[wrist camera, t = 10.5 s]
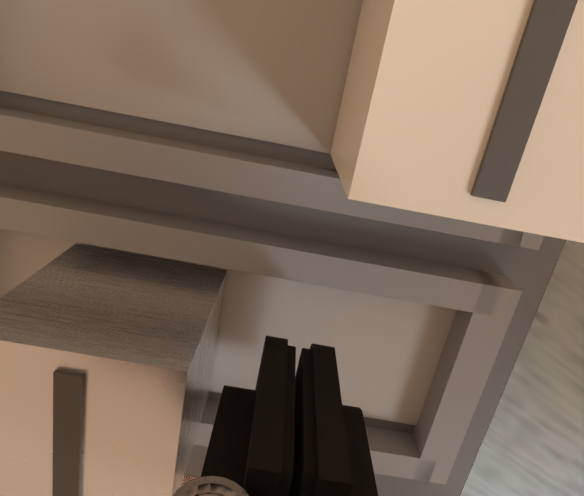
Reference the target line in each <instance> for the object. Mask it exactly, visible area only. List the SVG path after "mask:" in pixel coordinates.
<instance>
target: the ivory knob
mask: <svg viewBox="0 0 584 496" xmlns="http://www.w3.org/2000/svg"><path fill="white" fill-rule="evenodd" d="M330 155H331V157H332V160H333V162H334V165H335V167H336V170H337V172H338V175H339V177H340V180H341V182H342V185H343V187H344V190H345V192H346V195H347V197H348V199H351V200H357V201H362V202H367V203H373V204H378V205H383V206H389V207H394V208H399V209H405V210H410V211H415V212H421V213H426V214H431V215H437V216H442V217H447V218H453V219H458V220H464V221H469V222H474V223H480V224H485V225H490V226H496V227H501V228H506V229H512V230H517V231H522V232H528V233H533V234H538V235H544V236H549V237H554V238H560V239H565V240H570V241H576V242H581V243H584V0H363V2H362V7H361V11H360V16H359V21H358V26H357V30H356V35H355V40H354V44H353V49H352V54H351V58H350V63H349V68H348V73H347V77H346V82H345V87H344V91H343V96H342V101H341V106H340V110H339V115H338V120H337V124H336V129H335V134H334V138H333V143H332V148H331V153H330Z"/></svg>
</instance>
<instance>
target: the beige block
mask: <svg viewBox="0 0 584 496" xmlns="http://www.w3.org/2000/svg"><path fill="white" fill-rule="evenodd" d="M226 275H227V270H221V269H216V268H210V267H204V266H199V265H193V264H188V263H182V262H176V261H171V260H165V259H159V258H154V257H148V256H143V255H137V254H131V253H126V252H120V251H114V250H109V249H103V248H98V247H92V246H86V245H81V244H75V245H73V246H72V247H70V248H69V249H68V250H66V251H65V252H63V253H62V254H61V255H59V256H58V257H56V258H55V259H54V260H52V261H51V262H49V263H48V264H47V265H45V266H44V267H43V268H41V269H40V270H38V271H37V272H36V273H34V274H33V275H31V276H30V277H29V278H27V279H26V280H24V281H23V282H22V283H20V284H19V285H17V286H16V287H15V288H13V289H12V290H10V291H9V292H8V293H6V294H5V295H3V296H2V297H1V298H0V496H173V494H174V493H175V492H176V490H177V489H178V488H180V487H181V486H182V482H183V479H184V476H185V472H186V469H187V465H188V462H189V459H190V455H191V452H192V449H193V445H194V442H195V439H196V435H197V432H198V428H199V425H200V422H201V418H202V415H203V412H204V408H205V405H206V401H207V398H208V395H209V389H210V383H211V376H212V369H213V362H214V356H215V349H216V342H217V336H218V329H219V322H220V315H221V309H222V302H223V295H224V288H225V282H226Z"/></svg>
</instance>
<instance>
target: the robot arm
mask: <svg viewBox="0 0 584 496" xmlns="http://www.w3.org/2000/svg"><path fill="white" fill-rule="evenodd" d="M295 370H296V347H295V346H289V345H288V339H284V338H278V337H273V336H267V335H266V337H265V342H264V347H263V352H262V357H261V363H260V368H259V373H258V378H257V383H256V389H255V390H251V389H245V388H239V387H233V386H227V385H224V387H223V390H222V394H221V398H220V402H219V406H218V410H217V414H216V418H215V422H214V426H213V430H212V434H211V437H210V441H209V445H208V449H207V453H206V457H205V461H204V465H203V469H202V473H201V477H198V478H196V479H193V480H191V481H188V482H186V483H185V484H184V485H182V486H181V487H180V488H178V489H177V490H176V492H175V493H174V494H173V496H378V491H377V486H376V481H375V475H374V470H373V465H372V459H371V454H370V449H369V443H368V438H367V433H366V427H365V422H364V417H363V413H362V410H361V409H360V408H359V407H353V406H347V405H342V400H341V392H340V384H339V376H338V368H337V361H336V353H335V348H334V347H331V346H325V345H319V344H313V343H312V344H311V347H310V349H307V348H302V350H301V354H300V358H299V363H298V367H297V372H296V376H295Z"/></svg>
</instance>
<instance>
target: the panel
mask: <svg viewBox="0 0 584 496" xmlns="http://www.w3.org/2000/svg"><path fill="white" fill-rule="evenodd" d="M362 2H363V0H0V298H1V297H2V296H3V295H5V294H6V293H8V292H9V291H10V290H12V289H13V288H15V287H16V286H17V285H19V284H20V283H22V282H23V281H24V280H26V279H27V278H29V277H30V276H31V275H33V274H34V273H36V272H37V271H38V270H40V269H41V268H43V267H44V266H45V265H47V264H48V263H49V262H51V261H52V260H54V259H55V258H56V257H58V256H59V255H61V254H62V253H63V252H65V251H66V250H68V249H69V248H70V247H72V246H73V245H75V244H81V245H86V246H92V247H98V248H103V249H109V250H114V251H120V252H126V253H131V254H137V255H143V256H148V257H154V258H159V259H165V260H171V261H176V262H182V263H188V264H193V265H199V266H204V267H210V268H216V269H221V270H227V275H226V282H225V288H224V295H223V302H222V309H221V315H220V322H219V329H218V336H217V342H216V349H215V356H214V362H213V369H212V376H211V383H210V389H209V395H208V398H207V401H206V405H205V408H204V412H203V415H202V418H201V422H200V425H199V428H198V432H197V435H196V439H195V442H194V445H193V449H192V452H191V455H190V459H189V462H188V465H187V469H186V472H185V475H188V476H194V477H201V473H202V469H203V465H204V461H205V457H206V453H207V449H208V445H209V441H210V437H211V434H212V430H213V426H214V422H215V418H216V414H217V410H218V406H219V402H220V398H221V394H222V390H223V387H224V385H227V386H233V387H239V388H245V389H251V390H255V389H256V383H257V378H258V373H259V368H260V363H261V357H262V352H263V347H264V342H265V337H266V335H267V336H273V337H278V338H284V339H288V345H289V346H295V347H296V370H295V376H296V372H297V367H298V363H299V358H300V354H301V350H302V348H307V349H310V347H311V344H312V343H313V344H319V345H325V346H331V347H334V348H335V353H336V361H337V368H338V376H339V384H340V392H341V400H342V405H347V406H353V407H359V408H360V409H361V410H362V413H363V417H364V422H365V427H366V433H367V438H368V443H369V449H370V454H371V459H372V465H373V470H374V475H375V481H376V486H377V491H378V496H460V494H461V492H462V489H463V487H464V484H465V482H466V480H467V477H468V475H469V472H470V470H471V468H472V465H473V463H474V460H475V458H476V455H477V453H478V451H479V448H480V446H481V443H482V441H483V439H484V436H485V434H486V431H487V429H488V427H489V424H490V422H491V419H492V417H493V415H494V412H495V410H496V407H497V405H498V403H499V400H500V398H501V395H502V393H503V391H504V388H505V386H506V383H507V381H508V379H509V376H510V374H511V371H512V369H513V367H514V364H515V362H516V359H517V357H518V355H519V352H520V350H521V347H522V345H523V343H524V340H525V338H526V335H527V333H528V331H529V328H530V326H531V323H532V321H533V319H534V316H535V314H536V311H537V309H538V307H539V304H540V302H541V299H542V297H543V295H544V292H545V290H546V287H547V285H548V283H549V280H550V278H551V275H552V273H553V271H554V268H555V266H556V263H557V261H558V259H559V256H560V254H561V251H562V249H563V247H564V244H565V242H566V240H565V239H560V238H554V237H549V236H544V235H538V234H533V233H528V232H522V231H517V230H512V229H506V228H501V227H496V226H490V225H485V224H480V223H474V222H469V221H464V220H458V219H453V218H447V217H442V216H437V215H431V214H426V213H421V212H415V211H410V210H405V209H399V208H394V207H389V206H383V205H378V204H373V203H367V202H362V201H357V200H351V199H348V197H347V195H346V192H345V190H344V187H343V185H342V182H341V180H340V177H339V175H338V172H337V170H336V167H335V165H334V162H333V160H332V157H331V155H330V153H331V148H332V143H333V138H334V134H335V129H336V124H337V120H338V115H339V110H340V106H341V101H342V96H343V91H344V87H345V82H346V77H347V73H348V68H349V63H350V58H351V54H352V49H353V44H354V40H355V35H356V30H357V26H358V21H359V16H360V11H361V7H362Z"/></svg>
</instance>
